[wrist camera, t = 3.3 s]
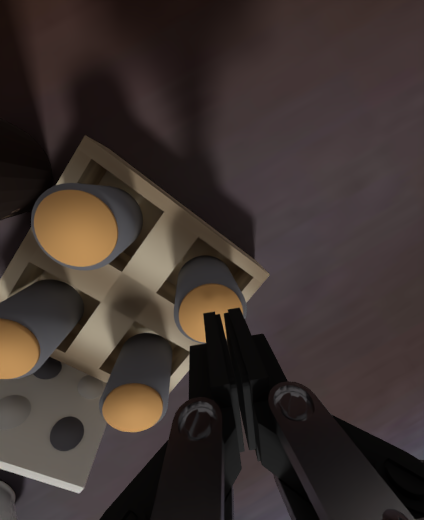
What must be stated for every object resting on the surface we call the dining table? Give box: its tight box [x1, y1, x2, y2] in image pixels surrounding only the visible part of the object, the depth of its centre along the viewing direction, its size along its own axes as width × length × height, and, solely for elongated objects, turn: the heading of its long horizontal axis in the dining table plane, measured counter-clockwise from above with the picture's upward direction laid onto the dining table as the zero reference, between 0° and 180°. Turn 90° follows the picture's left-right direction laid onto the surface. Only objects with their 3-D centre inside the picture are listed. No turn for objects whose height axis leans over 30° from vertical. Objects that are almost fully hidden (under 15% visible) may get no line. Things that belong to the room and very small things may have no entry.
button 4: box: [31, 183, 143, 270], centre depth 13 cm, size 4×4×5 cm
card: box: [0, 357, 107, 493], centre depth 17 cm, size 1×9×9 cm, turn 52°
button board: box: [0, 135, 270, 393], centre depth 18 cm, size 15×15×4 cm
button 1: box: [99, 333, 173, 432], centre depth 16 cm, size 4×4×5 cm
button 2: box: [174, 255, 247, 344], centre depth 15 cm, size 4×4×5 cm
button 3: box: [0, 279, 84, 379], centre depth 14 cm, size 4×4×5 cm
